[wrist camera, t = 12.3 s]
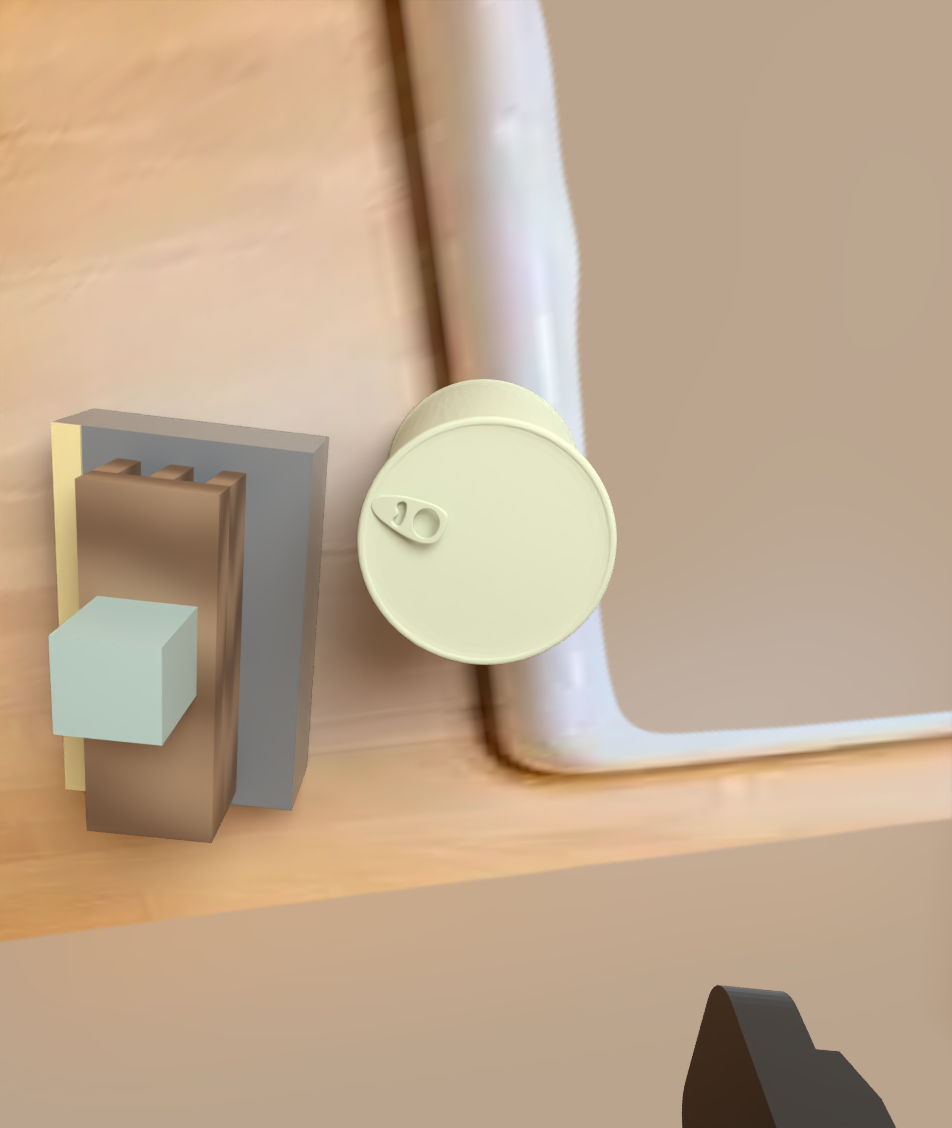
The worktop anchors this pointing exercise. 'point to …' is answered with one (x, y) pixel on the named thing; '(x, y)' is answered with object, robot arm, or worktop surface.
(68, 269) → the worktop surface
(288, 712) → the dock
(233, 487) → the board
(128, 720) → the pale green cube
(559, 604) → the can
